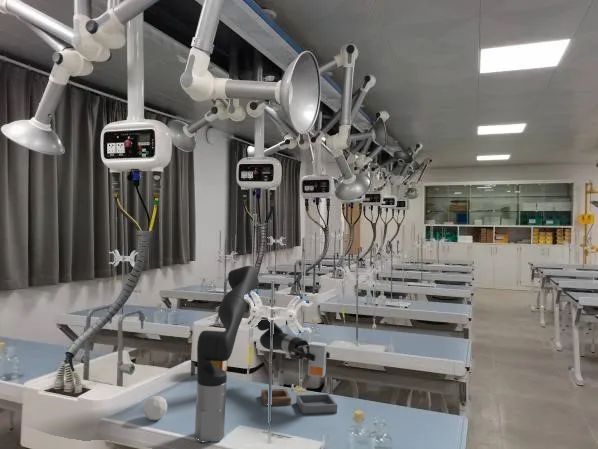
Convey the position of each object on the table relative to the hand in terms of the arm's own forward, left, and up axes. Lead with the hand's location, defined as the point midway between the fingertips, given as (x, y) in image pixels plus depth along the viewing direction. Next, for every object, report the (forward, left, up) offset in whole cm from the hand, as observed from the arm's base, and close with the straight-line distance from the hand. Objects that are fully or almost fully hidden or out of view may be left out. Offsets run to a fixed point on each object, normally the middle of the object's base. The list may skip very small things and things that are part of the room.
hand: (321, 356), depth 168 cm
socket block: (+11, +15, -20) cm, 27 cm away
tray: (+2, +1, -20) cm, 20 cm away
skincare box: (+2, +1, -8) cm, 8 cm away
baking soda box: (+46, +36, -20) cm, 61 cm away
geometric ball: (-1, +59, -20) cm, 62 cm away
